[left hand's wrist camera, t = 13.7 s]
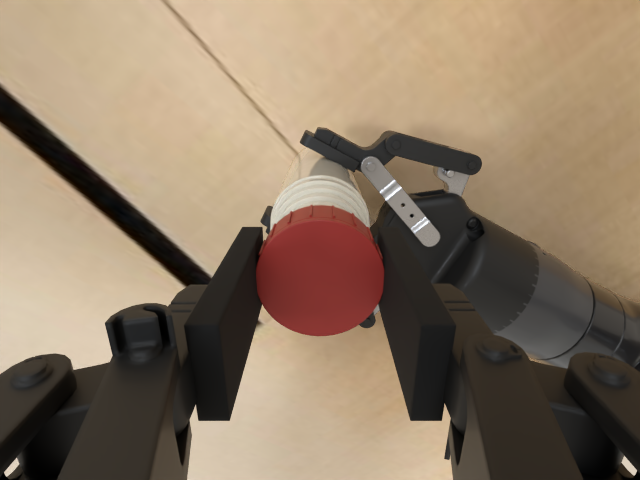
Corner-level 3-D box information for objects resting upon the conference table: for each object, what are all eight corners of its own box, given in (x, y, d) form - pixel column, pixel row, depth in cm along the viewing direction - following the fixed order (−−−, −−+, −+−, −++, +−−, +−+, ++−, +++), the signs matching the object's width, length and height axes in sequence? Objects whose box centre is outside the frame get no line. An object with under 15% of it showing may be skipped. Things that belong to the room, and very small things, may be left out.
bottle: (326, 131, 29) (336, 178, 12) (362, 182, 30) (415, 288, 14) (276, 169, 30) (221, 261, 13) (313, 217, 31) (306, 354, 15)
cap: (240, 277, 15) (230, 300, 13) (300, 180, 13) (297, 192, 12) (336, 328, 16) (338, 357, 14) (402, 242, 14) (413, 262, 13)
